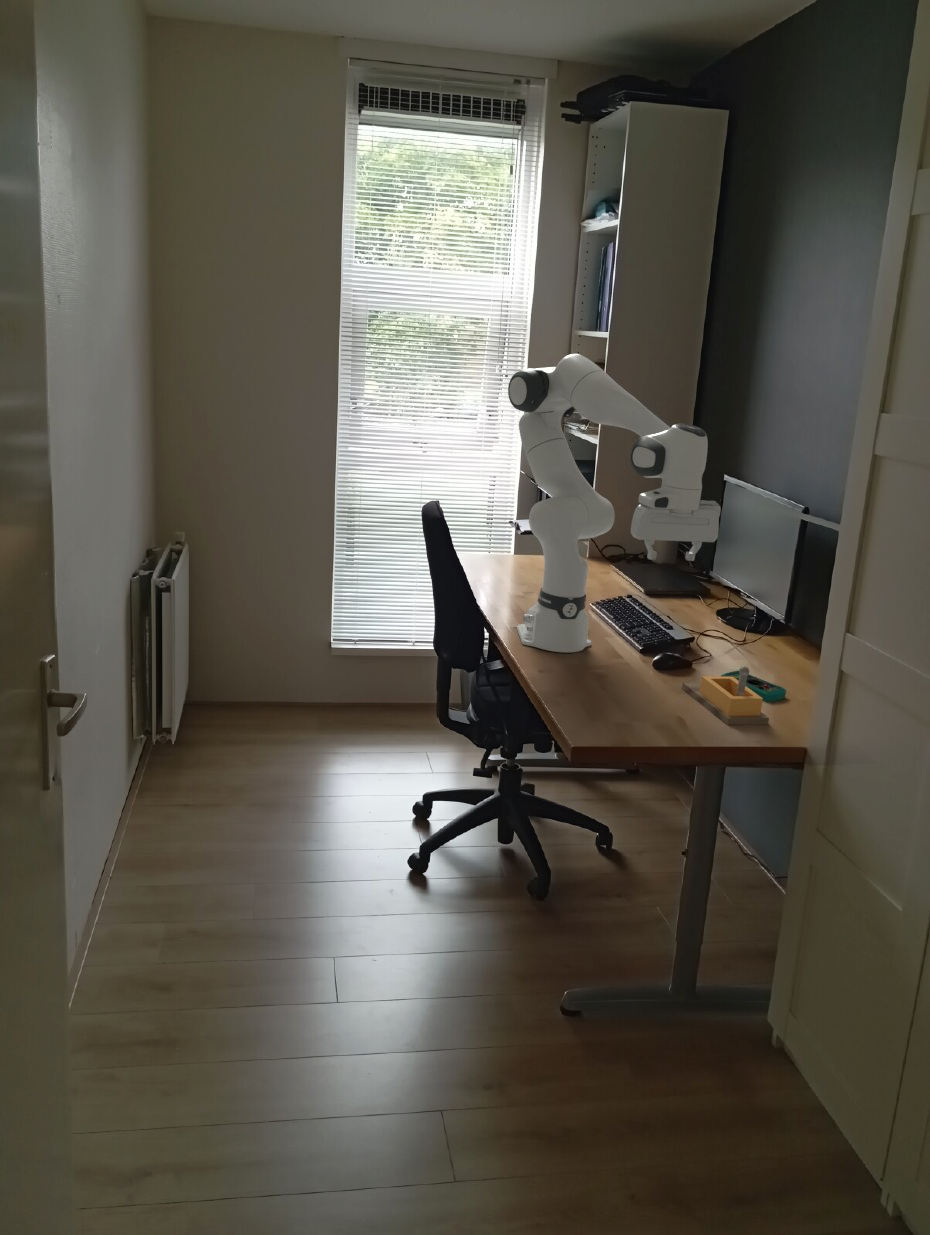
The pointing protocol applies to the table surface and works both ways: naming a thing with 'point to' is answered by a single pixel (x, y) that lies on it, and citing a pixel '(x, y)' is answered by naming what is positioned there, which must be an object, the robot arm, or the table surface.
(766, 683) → the digital multimeter
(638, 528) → the robot arm
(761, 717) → the keeper board
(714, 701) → the orange rectangular frame
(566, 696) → the table surface
